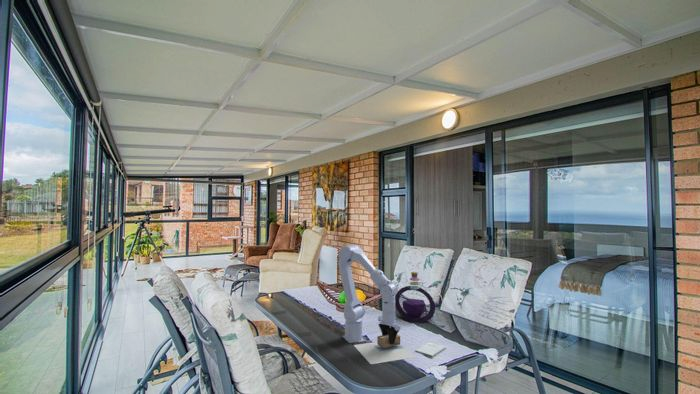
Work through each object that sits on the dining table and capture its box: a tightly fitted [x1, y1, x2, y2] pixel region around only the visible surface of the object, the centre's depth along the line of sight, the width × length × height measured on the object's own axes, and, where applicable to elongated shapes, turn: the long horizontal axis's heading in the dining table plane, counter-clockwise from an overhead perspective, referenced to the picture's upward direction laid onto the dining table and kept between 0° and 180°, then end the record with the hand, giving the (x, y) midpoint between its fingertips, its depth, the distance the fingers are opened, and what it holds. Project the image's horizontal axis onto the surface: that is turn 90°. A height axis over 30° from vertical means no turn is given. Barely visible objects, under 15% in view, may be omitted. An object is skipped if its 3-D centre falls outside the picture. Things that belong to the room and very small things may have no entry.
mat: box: [353, 341, 416, 365], centre depth 155 cm, size 20×20×1 cm
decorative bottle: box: [395, 271, 436, 324], centre depth 202 cm, size 22×21×25 cm
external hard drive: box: [414, 342, 447, 359], centre depth 157 cm, size 2×8×12 cm
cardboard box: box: [376, 334, 401, 348], centre depth 159 cm, size 9×4×4 cm, turn 118°
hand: (388, 341), depth 159 cm, fingers closed on cardboard box, 4 cm apart
